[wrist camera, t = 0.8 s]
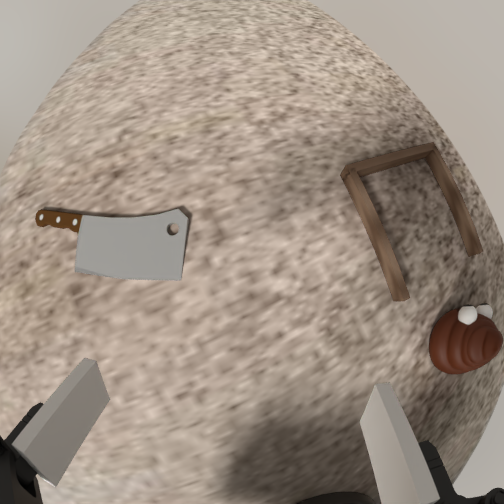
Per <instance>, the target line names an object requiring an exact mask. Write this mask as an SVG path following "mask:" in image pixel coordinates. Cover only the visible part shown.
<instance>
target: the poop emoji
mask: <svg viewBox="0 0 504 504" xmlns="http://www.w3.org/2000/svg"><path fill="white" fill-rule="evenodd" d="M492 314H493V311H492V308H491V307H490V305H488V304H486V303H483V304H480V305H479V306H478V307H477V308H475V307H474V306H473V305H464V306H463V307H462V308H461V309H458V308H457V309H454V310H451V311H449V312H448V313H446V314H445V315H443V316H442V317H441V318H440V319H439V320H438V322H437V323H436V325H435V327H434V328H433V331H432V334H431V337H430V343H429V353H430V357H431V360H432V362H433V364H434V365H435V366H436V367H437V368H438V369H439V370H441V371H442V372H445V373H448V374H462V373H466V372H469V371H472V370H475V369H478V368H480V367H482V366H483V365H485V364H486V363H488V362H489V361H490V360H491V359H492V358H494V357H495V356H496V355H497V354H498V353H499V351H500V349H501V347H502V344H503V336H502V334H501V333H500V331H498V329H497V327H496V326H495V324H494V322H493V321H492V320H491V318H492Z"/></svg>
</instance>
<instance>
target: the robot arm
mask: <svg viewBox="0 0 504 504" xmlns="http://www.w3.org/2000/svg"><path fill="white" fill-rule="evenodd" d="M109 400H110V398H109V395H108V393H107V390H106V387H105V385H104V382H103V379H102V376H101V373H100V370H99V367H98V364H97V361H95V360H91V359H88V358H84V359H83V360H82V361H81V362H80V363H79V365H78V366H77V367H76V368H75V369H74V370H73V371H72V372H71V373H70V375H69V376H68V377H67V378H66V379H65V380H64V381H63V383H62V384H61V385H60V386H59V387H58V388H57V389H56V391H55V392H54V393H53V394H52V395H51V396H50V398H49V399H48V400H47V401H46V402H45V403H44V404H43V403H41V402H40V403H38V404H37V405H35V406H33V407H32V408H31V409H30V410H29V412H28V413H27V415H25V416H24V417H23V419H22V421H20V422H19V423H18V425H17V426H16V427H15V428H14V430H13V431H12V432H11V433H10V434H9V436H8V437H7V438H6V439H5V440H3V439H2V437H1V436H0V504H43V502H42V498H41V493H40V489H39V484H38V480H37V478H36V474H38V475H39V476H40V477H41V478H42V479H43V480H45V481H46V482H48V483H50V484H51V485H53V486H55V487H56V486H57V485H58V483H59V481H60V479H61V478H62V476H63V474H64V473H65V471H66V469H67V468H68V466H69V464H70V463H71V461H72V459H73V458H74V456H75V454H76V453H77V451H78V449H79V448H80V446H81V444H82V443H83V441H84V440H85V438H86V436H87V435H88V433H89V432H90V430H91V428H92V427H93V425H94V424H95V422H96V421H97V419H98V417H99V416H100V414H101V413H102V411H103V410H104V408H105V407H106V405H107V403H108V402H109ZM360 425H361V428H362V432H363V435H364V438H365V442H366V446H367V449H368V453H369V456H370V460H371V464H372V468H373V471H374V475H375V479H376V483H377V487H378V491H379V495H380V500H381V504H504V489H502V488H495V489H493V490H491V491H490V492H489V493H487V494H486V495H484V496H479V497H474V498H465V497H463V496H461V495H457V493H456V492H455V491H454V488H453V486H452V483H451V481H450V479H449V476H448V474H447V472H446V469H445V467H444V466H443V462H442V460H441V459H440V456H439V454H438V451H437V449H436V447H435V446H433V445H432V444H431V443H430V442H429V441H428V440H427V441H424V442H420V443H418V442H417V440H416V437H415V435H414V433H413V431H412V428H411V426H410V424H409V422H408V420H407V417H406V415H405V413H404V411H403V409H402V407H401V405H400V402H399V400H398V398H397V396H396V394H395V392H394V390H393V388H392V386H391V384H390V382H388V383H379V384H375V386H374V388H373V391H372V393H371V396H370V398H369V401H368V403H367V406H366V408H365V411H364V413H363V415H362V418H361V420H360ZM298 504H375V503H374V501H373V500H372V499H371V498H370V497H368V496H366V495H364V494H360V493H354V492H339V493H331V494H326V495H321V496H317V497H314V498H311V499H308V500H305V501H302V502H300V503H298Z"/></svg>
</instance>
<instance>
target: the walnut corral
mask: <svg viewBox="0 0 504 504" xmlns="http://www.w3.org/2000/svg"><path fill="white" fill-rule="evenodd" d="M423 158H425V159H426V161H427V163H428V164H429V166H430V168H431V170H432V172H433V174H434V176H435V178H436V180H437V182H438V184H439V186H440V188H441V190H442V192H443V194H444V196H445V198H446V200H447V203H448V205H449V207H450V209H451V212H452V214H453V216H454V219H455V221H456V224H457V226H458V229H459V231H460V234H461V237H462V239H463V242H464V245H465V248H466V250H467V253H468V256H473V255H476V254H480V253H481V252H483V249H482V246H481V243H480V240H479V237H478V234H477V232H476V229H475V226H474V224H473V221H472V219H471V216H470V214H469V211H468V209H467V207H466V204H465V202H464V200H463V198H462V195H461V193H460V191H459V189H458V187H457V185H456V183H455V181H454V179H453V177H452V175H451V173H450V171H449V169H448V167H447V165H446V163H445V161H444V160H443V158H442V156H441V154H440V152H439V151H438V149H437V147H436V146H435V144H434V142H432V143H428V144H423V145H419V146H415V147H411V148H407V149H403V150H399V151H396V152H392V153H388V154H384V155H380V156H377V157H373V158H370V159H366V160H362V161H359V162H355V163H352V164H349V165H346V166H345V168H344V170H343V171H342V173H341V175H340V176H341V178H342V180H343V182H344V184H345V186H346V188H347V190H348V192H349V194H350V196H351V198H352V200H353V202H354V204H355V206H356V208H357V211H358V213H359V215H360V217H361V219H362V222H363V224H364V226H365V228H366V231H367V233H368V235H369V238H370V240H371V242H372V245H373V247H374V250H375V252H376V255H377V257H378V260H379V262H380V265H381V267H382V270H383V273H384V275H385V278H386V281H387V284H388V286H389V289H390V292H391V295H392V298H393V301H405V300H407V299H409V298H410V296H409V293H408V290H407V287H406V284H405V281H404V278H403V275H402V273H401V270H400V267H399V265H398V262H397V259H396V257H395V254H394V252H393V249H392V247H391V244H390V242H389V239H388V237H387V235H386V232H385V230H384V228H383V225H382V223H381V221H380V219H379V216H378V214H377V212H376V210H375V208H374V206H373V203H372V201H371V199H370V197H369V195H368V193H367V191H366V189H365V187H364V185H363V183H362V181H361V179H360V177H363V176H366V175H369V174H372V173H376V172H379V171H382V170H385V169H389V168H392V167H395V166H399V165H402V164H406V163H409V162H412V161H416V160H419V159H423Z"/></svg>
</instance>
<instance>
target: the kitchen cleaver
mask: <svg viewBox="0 0 504 504" xmlns="http://www.w3.org/2000/svg"><path fill="white" fill-rule="evenodd" d="M35 219H36V223H37V225H38V226H40V227H45V226H47V225H51V226H53V227H57V228H62V229H64V228H70V229H71V230H72V231H74V232H77V233H78V240H77V250H76V262H75V272H80V273H86V274H92V275H98V276H105V277H112V278H119V279H136V280H174V281H177V280H181V277H182V269H183V261H184V253H185V246H186V239H187V232H188V225H189V219H188V218H187V217H186V216H185V215H184V214H183V213H182V212H181V211H180V210H179V209H175V210H172V211H168V212H165V213H161V214H158V215H150V216H141V217H133V218H109V217H98V216H87V215H82V214H75V213H67V212H59V211H51V210H42V209H41V210H39V211H38V212H37V213H36V218H35ZM172 224H177V225H178V226H179V231H178V233H177V234H176V235H173V236H171V235H169V233H168V228H169V226H170V225H172Z"/></svg>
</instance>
